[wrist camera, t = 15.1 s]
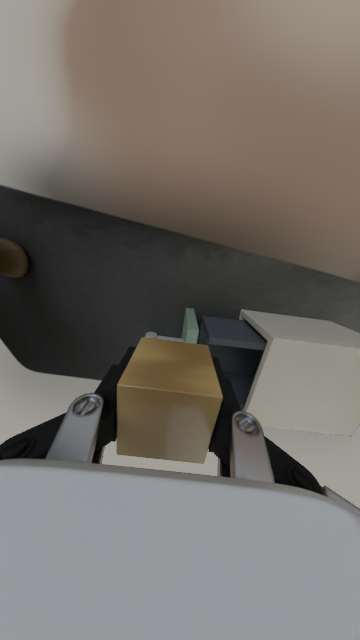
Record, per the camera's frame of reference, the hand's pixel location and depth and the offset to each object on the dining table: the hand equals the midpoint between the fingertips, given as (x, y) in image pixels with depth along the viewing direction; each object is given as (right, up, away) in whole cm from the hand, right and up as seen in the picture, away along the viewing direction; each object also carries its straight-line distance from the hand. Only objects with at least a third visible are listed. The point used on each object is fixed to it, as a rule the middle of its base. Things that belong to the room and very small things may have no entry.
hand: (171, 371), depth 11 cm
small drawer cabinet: (+16, -1, +16) cm, 23 cm away
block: (0, 0, 0) cm, 0 cm away
